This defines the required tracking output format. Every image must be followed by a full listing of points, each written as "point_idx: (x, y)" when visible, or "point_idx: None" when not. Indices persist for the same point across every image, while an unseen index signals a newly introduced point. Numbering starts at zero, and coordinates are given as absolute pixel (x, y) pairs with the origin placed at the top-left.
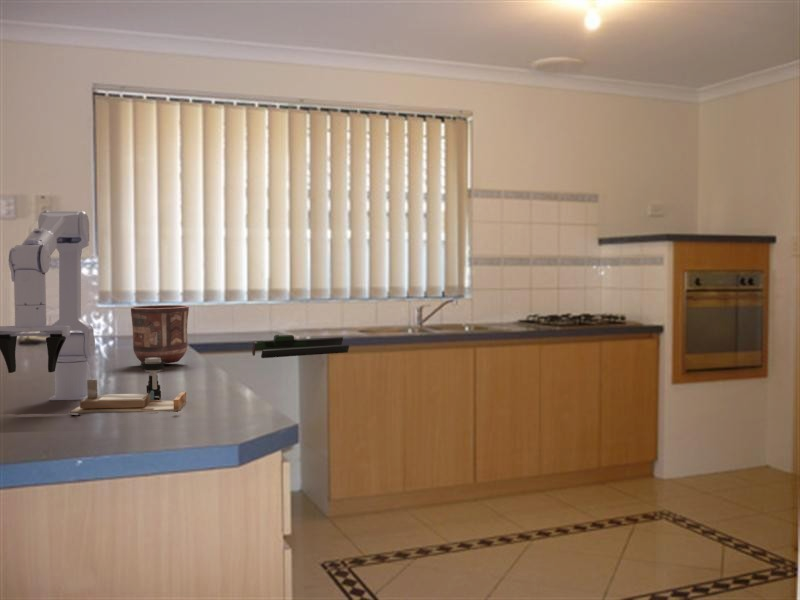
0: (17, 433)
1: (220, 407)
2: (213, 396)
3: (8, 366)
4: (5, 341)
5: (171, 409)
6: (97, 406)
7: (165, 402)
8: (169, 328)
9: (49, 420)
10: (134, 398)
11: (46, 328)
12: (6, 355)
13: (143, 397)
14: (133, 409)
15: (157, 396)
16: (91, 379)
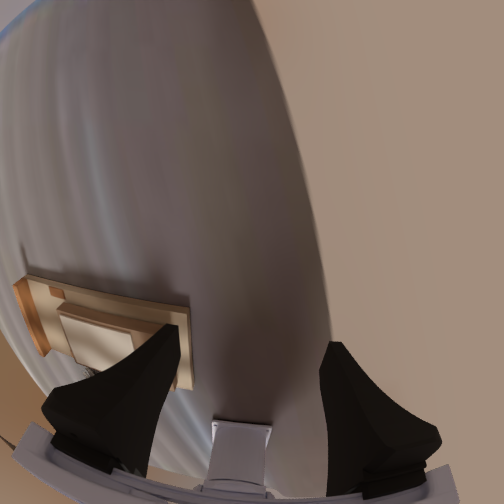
0: (264, 119)
1: (10, 305)
2: (53, 379)
3: (347, 356)
4: (392, 442)
5: (29, 279)
6: (135, 322)
7: (61, 341)
8: None
9: (224, 272)
10: (72, 325)
11: (89, 496)
12: (366, 389)
13: (64, 330)
14: (75, 297)
15: (87, 377)
16: None
